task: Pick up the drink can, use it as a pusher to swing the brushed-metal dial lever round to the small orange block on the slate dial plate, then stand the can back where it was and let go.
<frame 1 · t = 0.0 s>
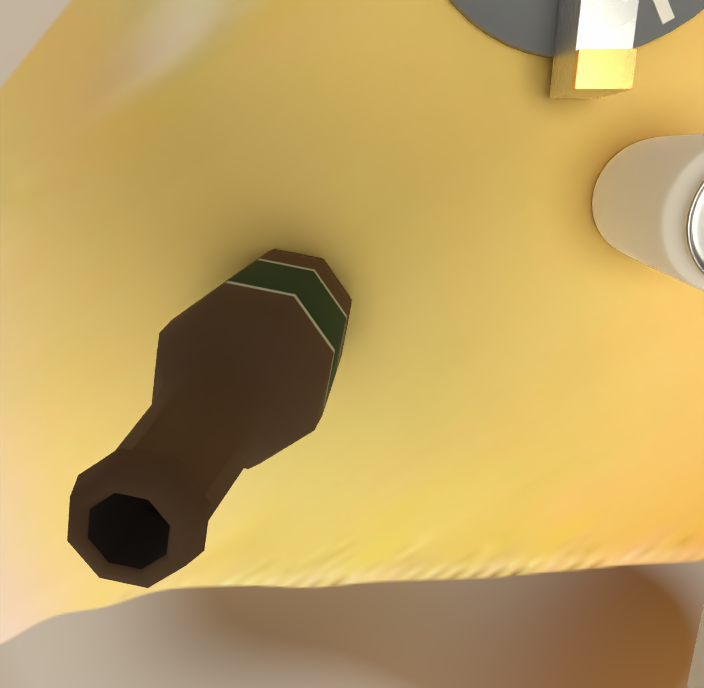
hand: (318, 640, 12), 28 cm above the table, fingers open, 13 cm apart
can: (648, 198, 36), on the table
beer bottle: (291, 309, 39), on the table
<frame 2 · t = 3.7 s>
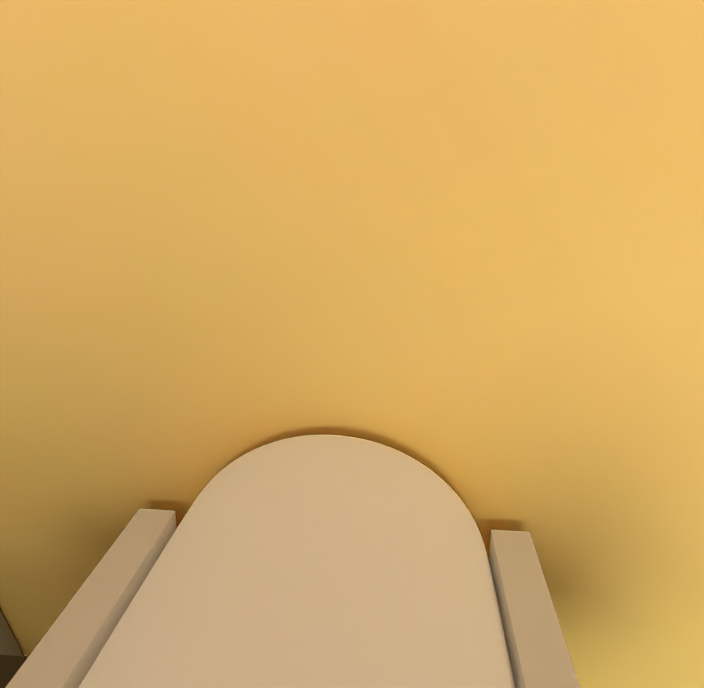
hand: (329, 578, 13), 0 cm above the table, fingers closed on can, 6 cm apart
can: (334, 559, 14), on the table, touching gripper
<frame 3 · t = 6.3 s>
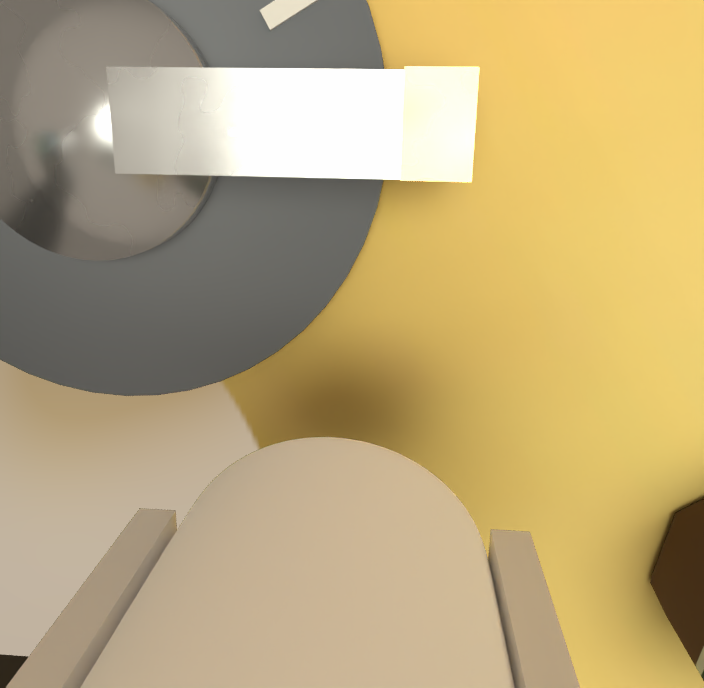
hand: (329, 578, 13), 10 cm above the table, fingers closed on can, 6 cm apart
dial plate: (114, 128, 21), on the table
dial: (180, 125, 17), point 4 cm above the table, hinge at 0.0°
can: (334, 561, 14), point 10 cm above the table, touching gripper
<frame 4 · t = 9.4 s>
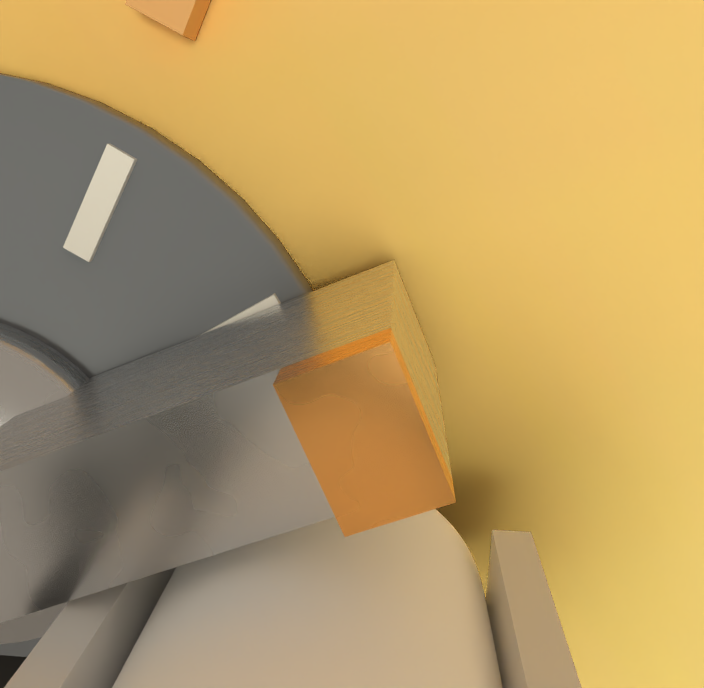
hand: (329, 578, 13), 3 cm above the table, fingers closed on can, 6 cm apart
dial plate: (8, 450, 17), on the table
dial: (41, 491, 12), point 4 cm above the table, hinge at 22.6°, touching gripper
can: (332, 585, 14), point 2 cm above the table, touching gripper
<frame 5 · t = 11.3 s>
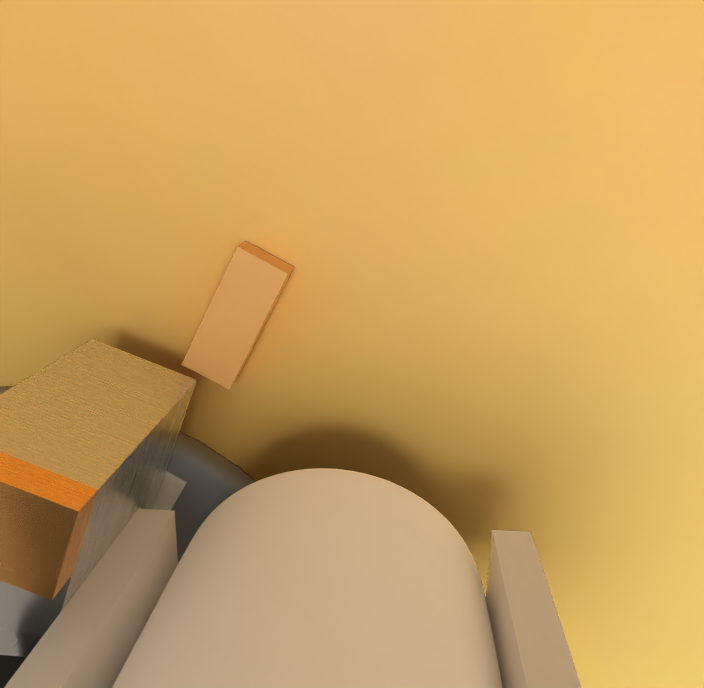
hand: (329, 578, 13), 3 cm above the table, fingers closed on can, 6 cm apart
dial plate: (58, 682, 18), on the table
can: (333, 585, 14), point 2 cm above the table, touching gripper
small orange block: (242, 311, 15), on the table
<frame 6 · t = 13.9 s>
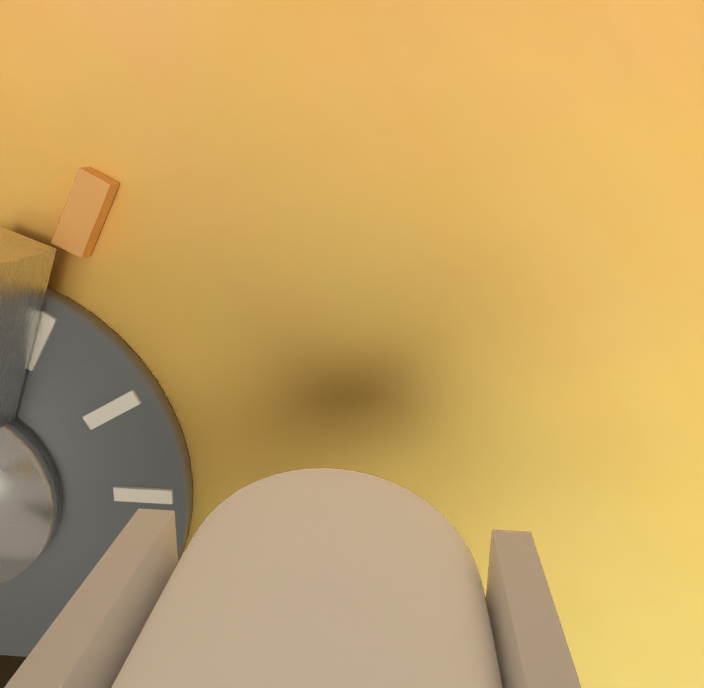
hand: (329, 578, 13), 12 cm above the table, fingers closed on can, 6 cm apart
can: (332, 585, 14), point 12 cm above the table, touching gripper
small orange block: (90, 212, 24), on the table
when the fingers open (2 cm above the table, at t = 16.0 s): can drops 1 cm, on the table.
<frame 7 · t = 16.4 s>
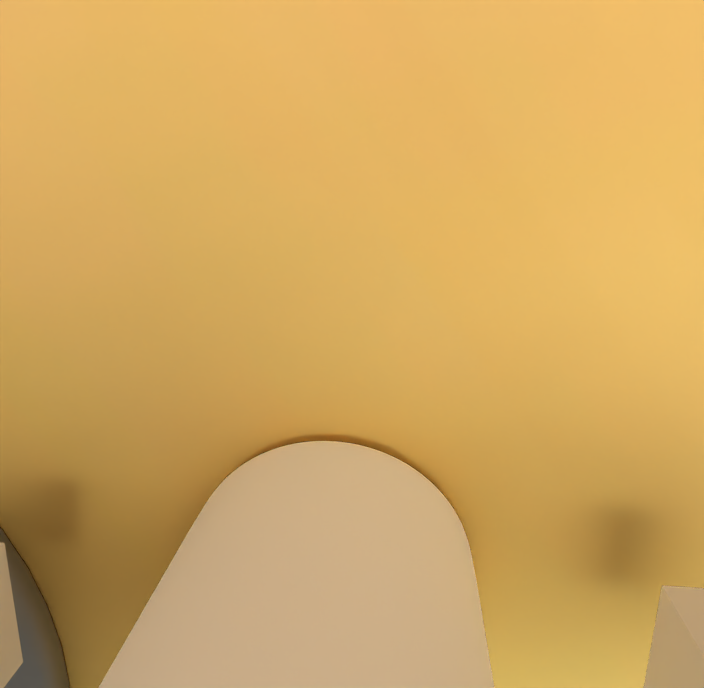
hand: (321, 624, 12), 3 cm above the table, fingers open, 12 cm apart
can: (333, 552, 15), on the table
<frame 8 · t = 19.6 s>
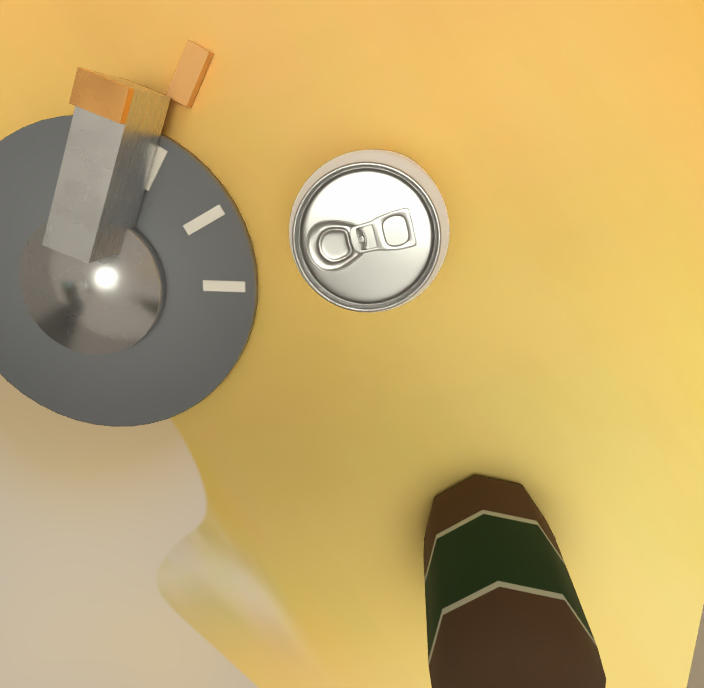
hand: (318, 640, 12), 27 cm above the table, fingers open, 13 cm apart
dial plate: (107, 278, 38), on the table
dial: (90, 230, 33), point 4 cm above the table, hinge at 69.7°
can: (379, 210, 36), on the table
beer bottle: (483, 524, 41), on the table
small orange block: (192, 75, 34), on the table
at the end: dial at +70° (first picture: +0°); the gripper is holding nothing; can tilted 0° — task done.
